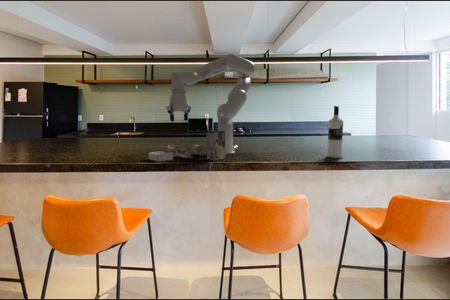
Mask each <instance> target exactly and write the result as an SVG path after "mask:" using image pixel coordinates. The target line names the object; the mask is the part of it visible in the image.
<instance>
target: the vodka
mask: <svg viewBox="0 0 450 300" xmlns="http://www.w3.org/2000/svg"><path fill="white" fill-rule="evenodd" d="M339 108H340V106H339V105H334V106H333V117H332V118H331V119H329V120H328V123H327V124H328V125H327V126H328V127H327V129H328V132H327V140H326V141H327V148H326V152H325V155H326V157H327V158H329V157H331V158H330V159H341V158H343V156H344V155H343V130H344V120H343V119H341V118H340V116H339V114H340V110H339Z"/></svg>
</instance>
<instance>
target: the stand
mask: <svg viewBox="0 0 450 300" xmlns="http://www.w3.org/2000/svg"><path fill="white" fill-rule="evenodd" d="M165 153H169V152H167V151H166V152H165V151H164V154H165ZM182 153H183V154H182ZM196 154H197V155H198V156H203V152H202V153H201V152H195V153H194V155H196ZM176 156H177V158H180V157H181V158H182V159H191V158H194V156H193V155H191V151H184V150H175V154H173V157H176ZM181 158H180V159H181Z"/></svg>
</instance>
